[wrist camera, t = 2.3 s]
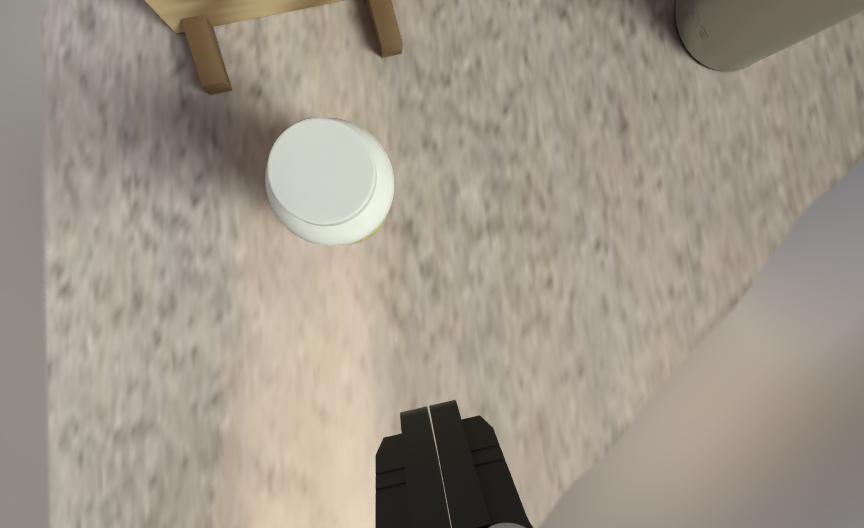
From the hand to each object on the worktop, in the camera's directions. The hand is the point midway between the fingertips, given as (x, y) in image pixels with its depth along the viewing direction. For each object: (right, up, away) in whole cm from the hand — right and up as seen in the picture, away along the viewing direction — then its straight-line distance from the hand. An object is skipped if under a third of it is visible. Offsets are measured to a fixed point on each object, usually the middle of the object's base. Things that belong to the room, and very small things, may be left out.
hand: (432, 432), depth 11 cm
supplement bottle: (-7, +9, +20) cm, 23 cm away
